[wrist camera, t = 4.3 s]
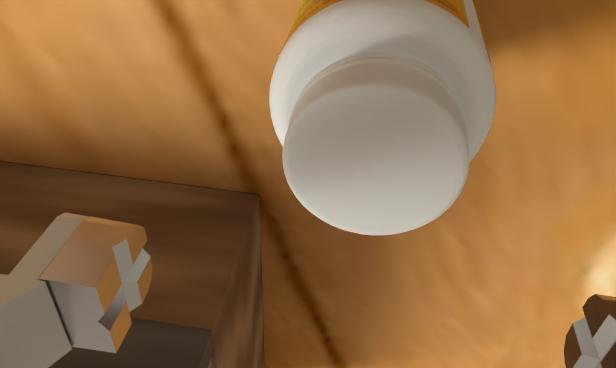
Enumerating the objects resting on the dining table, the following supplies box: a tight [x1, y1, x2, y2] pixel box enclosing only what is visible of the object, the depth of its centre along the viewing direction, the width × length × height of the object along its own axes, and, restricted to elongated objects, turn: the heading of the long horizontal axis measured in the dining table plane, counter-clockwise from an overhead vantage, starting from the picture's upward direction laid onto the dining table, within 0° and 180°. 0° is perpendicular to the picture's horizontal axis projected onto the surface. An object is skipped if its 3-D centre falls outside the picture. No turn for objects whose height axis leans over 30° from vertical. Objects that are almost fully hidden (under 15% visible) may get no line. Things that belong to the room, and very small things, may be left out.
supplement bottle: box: [269, 0, 496, 235], centre depth 15 cm, size 6×6×10 cm
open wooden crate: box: [0, 161, 265, 368], centre depth 27 cm, size 16×22×11 cm
